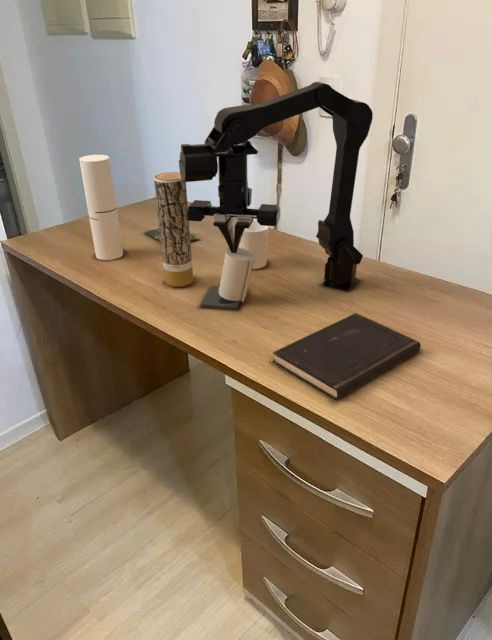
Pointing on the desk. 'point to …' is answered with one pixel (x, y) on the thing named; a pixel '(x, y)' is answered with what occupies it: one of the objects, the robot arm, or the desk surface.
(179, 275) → the brown bark cylinder
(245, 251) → the cylinder
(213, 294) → the slate coaster
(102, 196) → the cylindrical container
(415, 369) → the desk surface
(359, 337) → the hardcover book
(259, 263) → the white cup
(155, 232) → the eiffel tower figurine
